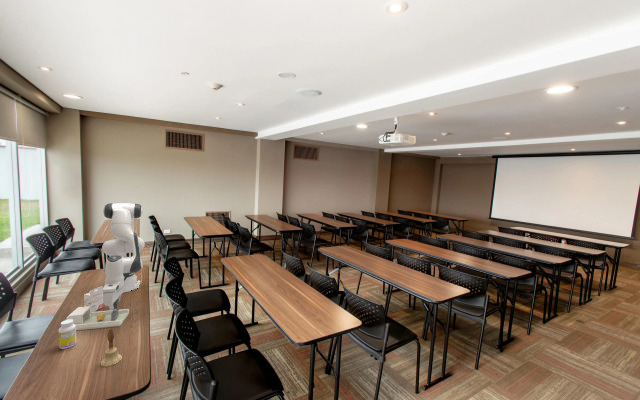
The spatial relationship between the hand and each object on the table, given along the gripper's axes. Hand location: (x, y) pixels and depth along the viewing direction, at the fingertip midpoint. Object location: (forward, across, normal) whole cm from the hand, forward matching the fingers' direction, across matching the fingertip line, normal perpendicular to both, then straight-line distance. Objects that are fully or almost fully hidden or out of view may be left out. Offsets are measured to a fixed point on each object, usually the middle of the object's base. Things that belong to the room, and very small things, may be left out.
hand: (114, 305), depth 163 cm
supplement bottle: (+9, +22, -13) cm, 27 cm away
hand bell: (+9, +40, +12) cm, 43 cm away
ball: (+6, 0, -7) cm, 9 cm away
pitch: (+9, 0, -8) cm, 12 cm away
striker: (+8, 0, 0) cm, 8 cm away
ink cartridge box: (+9, -17, -17) cm, 26 cm away
